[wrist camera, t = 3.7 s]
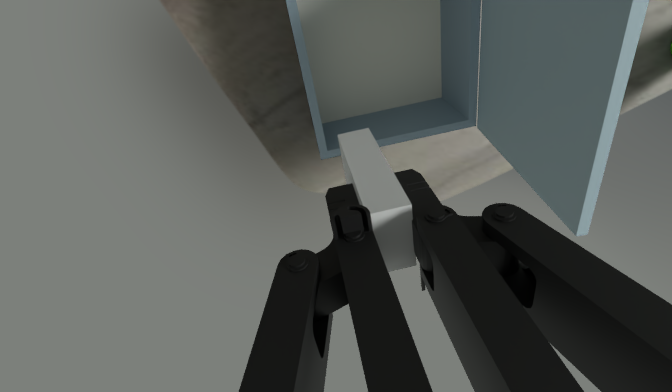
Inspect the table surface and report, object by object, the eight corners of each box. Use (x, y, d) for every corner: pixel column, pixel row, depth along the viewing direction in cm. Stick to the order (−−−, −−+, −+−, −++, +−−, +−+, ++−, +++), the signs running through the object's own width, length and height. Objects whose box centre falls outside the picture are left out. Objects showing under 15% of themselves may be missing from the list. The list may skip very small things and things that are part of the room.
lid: (669, -151, 13) (690, -156, 13) (486, -100, 27) (495, -102, 27) (576, 236, 23) (587, 234, 23) (477, 127, 37) (484, 126, 37)
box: (274, -51, 34) (273, -53, 27) (444, -87, 34) (484, -98, 28) (314, 129, 44) (321, 159, 37) (445, 100, 44) (475, 125, 38)
